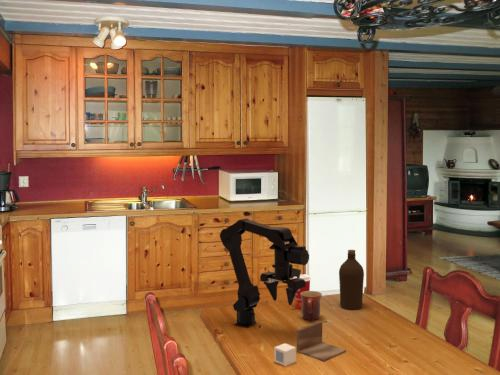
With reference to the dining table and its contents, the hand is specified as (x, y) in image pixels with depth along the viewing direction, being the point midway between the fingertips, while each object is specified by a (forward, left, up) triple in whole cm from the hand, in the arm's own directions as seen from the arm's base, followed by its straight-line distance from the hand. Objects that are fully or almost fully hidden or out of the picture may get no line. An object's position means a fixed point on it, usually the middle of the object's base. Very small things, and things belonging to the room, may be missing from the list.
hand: (282, 302), depth 204 cm
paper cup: (-8, +32, -12) cm, 35 cm away
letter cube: (+13, -22, -12) cm, 28 cm away
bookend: (+20, -8, -12) cm, 25 cm away
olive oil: (+10, +44, -12) cm, 47 cm away
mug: (+2, +20, -12) cm, 24 cm away
